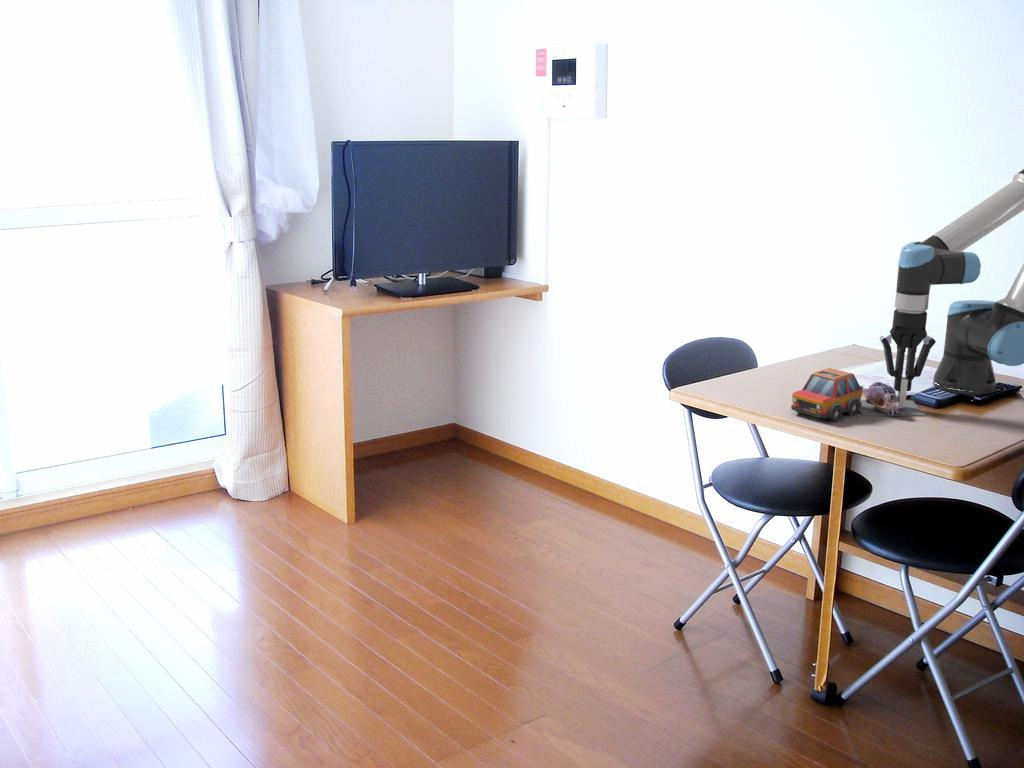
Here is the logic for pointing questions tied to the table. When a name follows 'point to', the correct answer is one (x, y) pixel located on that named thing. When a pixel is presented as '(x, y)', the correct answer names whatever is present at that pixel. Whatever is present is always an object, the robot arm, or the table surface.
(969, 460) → the table surface
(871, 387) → the skull
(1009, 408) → the table surface
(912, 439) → the table surface
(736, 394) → the table surface
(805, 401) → the toy car
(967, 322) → the robot arm
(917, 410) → the chock mat
